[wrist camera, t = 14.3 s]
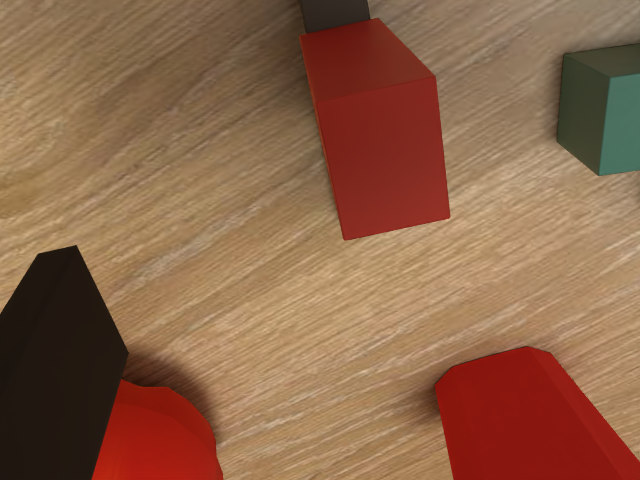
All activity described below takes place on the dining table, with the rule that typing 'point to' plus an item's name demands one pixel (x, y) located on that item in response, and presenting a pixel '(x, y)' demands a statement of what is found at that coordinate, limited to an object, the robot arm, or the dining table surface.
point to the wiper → (373, 120)
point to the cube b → (602, 108)
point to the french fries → (526, 423)
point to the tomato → (156, 438)
